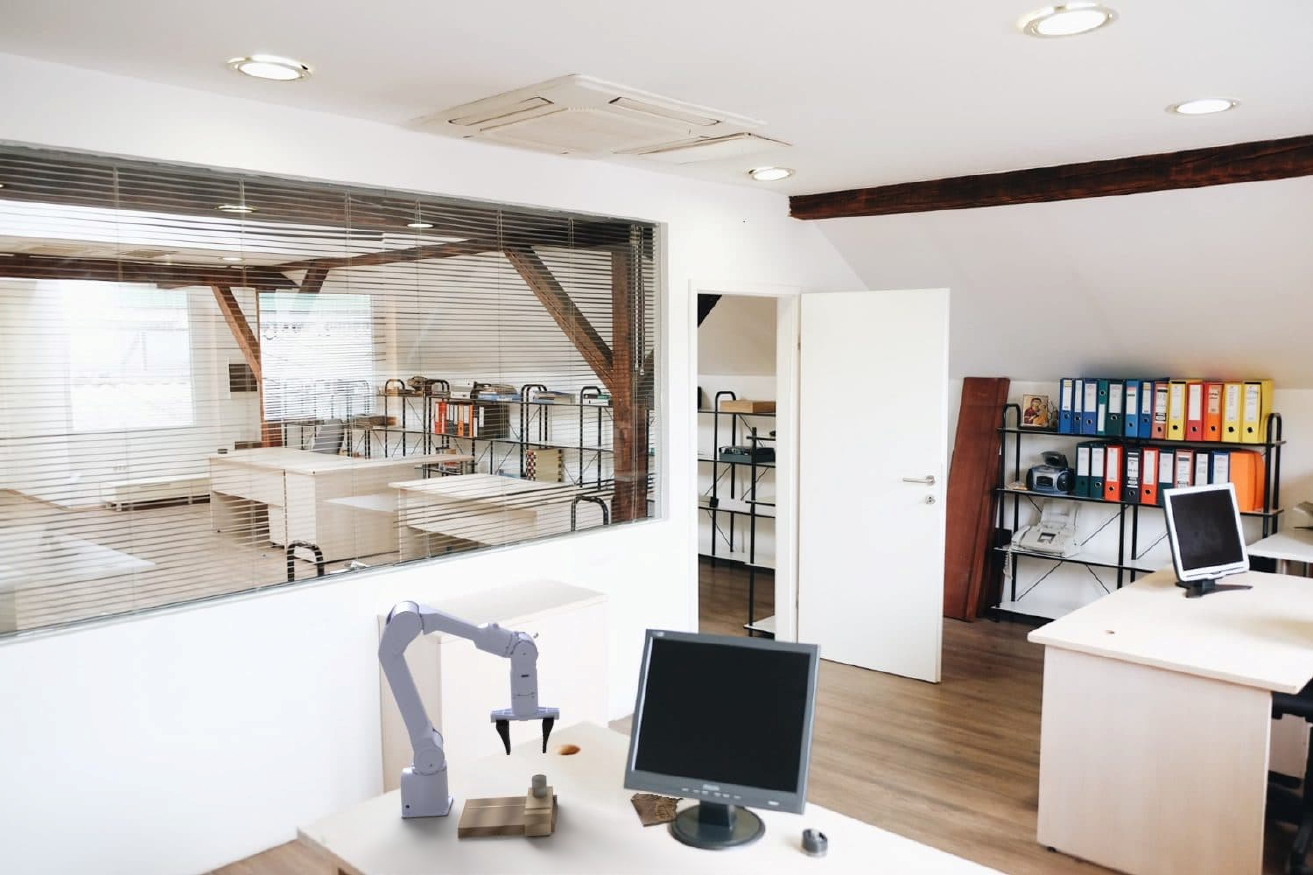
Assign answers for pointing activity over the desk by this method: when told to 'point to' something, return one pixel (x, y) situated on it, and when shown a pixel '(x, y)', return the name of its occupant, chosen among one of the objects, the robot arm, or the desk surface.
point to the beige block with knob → (539, 807)
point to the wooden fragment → (654, 808)
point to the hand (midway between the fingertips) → (526, 752)
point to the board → (496, 817)
